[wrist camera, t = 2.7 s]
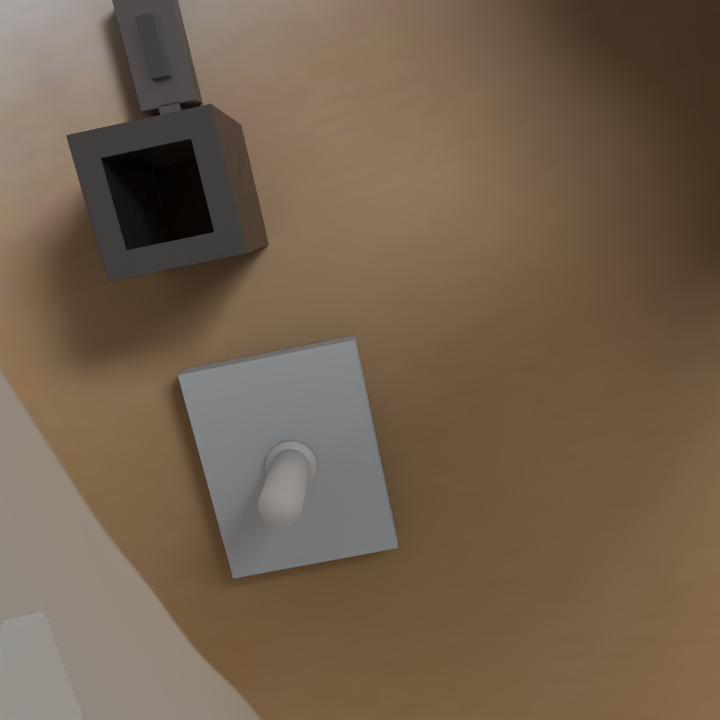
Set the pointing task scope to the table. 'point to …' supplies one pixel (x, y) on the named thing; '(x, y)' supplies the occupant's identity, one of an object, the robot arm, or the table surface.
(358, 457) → the keeper
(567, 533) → the table surface
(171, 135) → the grey square socket
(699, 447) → the table surface
